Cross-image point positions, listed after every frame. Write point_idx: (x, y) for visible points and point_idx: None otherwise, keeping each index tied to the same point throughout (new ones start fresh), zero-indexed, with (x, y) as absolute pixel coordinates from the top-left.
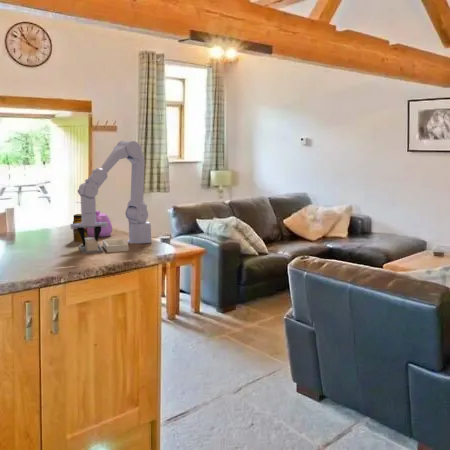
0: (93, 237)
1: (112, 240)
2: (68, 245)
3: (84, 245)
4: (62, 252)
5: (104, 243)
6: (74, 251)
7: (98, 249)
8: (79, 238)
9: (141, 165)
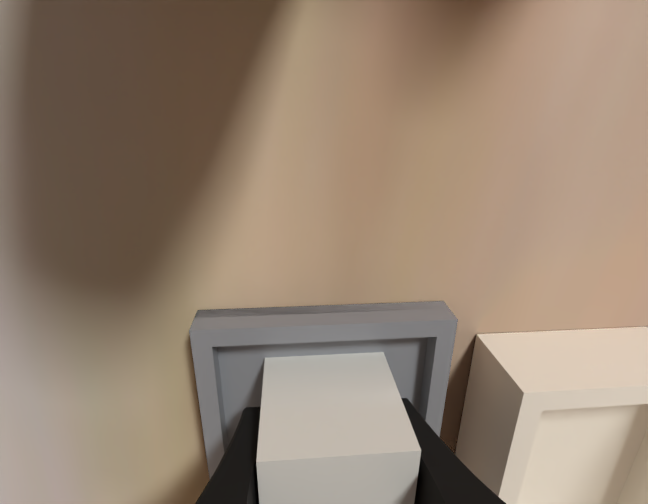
0: (408, 464)
1: (635, 398)
2: (20, 64)
3: None
4: (21, 459)
5: None
6: (152, 445)
7: None
8: None
9: None
